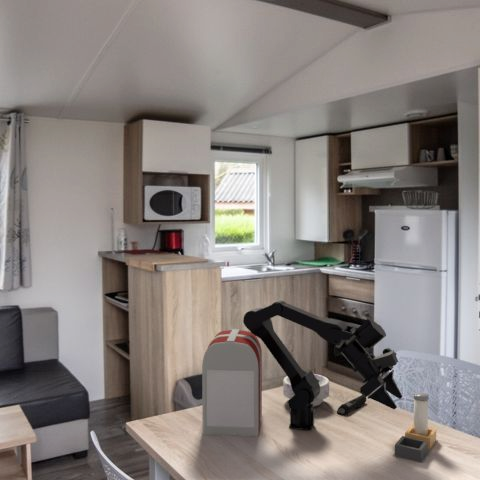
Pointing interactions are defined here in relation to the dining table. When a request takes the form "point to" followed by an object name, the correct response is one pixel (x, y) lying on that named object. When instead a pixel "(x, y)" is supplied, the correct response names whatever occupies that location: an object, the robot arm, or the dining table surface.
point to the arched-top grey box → (232, 384)
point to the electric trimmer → (351, 405)
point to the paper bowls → (318, 400)
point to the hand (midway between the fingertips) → (398, 403)
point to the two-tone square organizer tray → (415, 445)
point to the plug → (421, 414)
